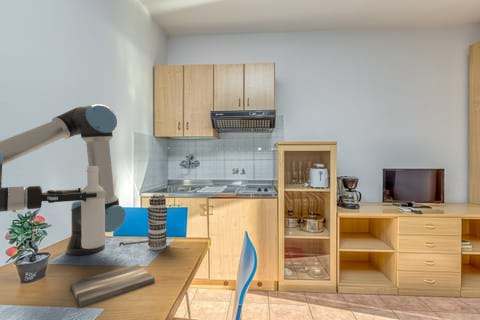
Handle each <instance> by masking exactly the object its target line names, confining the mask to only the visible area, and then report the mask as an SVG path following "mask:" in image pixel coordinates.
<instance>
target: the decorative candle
mask: <svg viewBox="0 0 480 320" xmlns="http://www.w3.org/2000/svg"><path fill="white" fill-rule="evenodd" d="M166 198H167V197H166V196H165V195H164V194H162V193H156V194H155V193H154V194H151V195H150V197H148V199H149V201H148V202H149V203H148V207H147V209H146V210H147V219H148V220H147V223H148V233H147V235H148V236H147V240H148V242H147V245H148V246H147V248H148V249H149V250H152V251H157V250H163V249H165V248H166V247H167V244H168V243H167V236H168V235H167V233H168V232H167V228H166V225H167V224H166V223H167V220H168V219H167V218H168V215H167V214H168V211H167V210H168V208H167V203H166V202H167V200H166Z"/></svg>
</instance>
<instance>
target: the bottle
mask: <svg viewBox="0 0 480 320" xmlns="http://www.w3.org/2000/svg"><path fill="white" fill-rule="evenodd" d="M86 167H87V168H86V173H87V174H86V175H87V180H86V181H87V185H86V186H85V187H84V188H82V190H83V191H82V192H90V191H104V190H103V188H102V187H101V186H100V185H99V183H98V171H99V169H98V166H89V165H88V166H86ZM81 230H82V239H81V243H82V248H85V249H92V248H97V247H101V246H103V245H104V244H105V245H106V240H107V239H106V232H105V198H99V199H86V202H84V201H82V200H81Z"/></svg>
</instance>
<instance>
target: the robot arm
mask: <svg viewBox="0 0 480 320" xmlns="http://www.w3.org/2000/svg"><path fill="white" fill-rule="evenodd" d="M117 124H118V119H117V116H116V114H115V112H114V110H112V109H111V108H110V107H109V106H107V105H105V104H91V105H86V106H79V107H77V106H76V107H75V108H72V109H71V110H68V111H65V112H63V113H62V114H59V115H57V116H54V117H52V119H51V121H50V122H47V123H43V124H42V125H39V126H37V127H33V128H32V129H29V130H26V131H23V132H21V133H19V134H16V135H12V136H10V137H8V138H5V139H3V140H1V141H0V213H2V212H8V211H9V212H10V211H11V212H12V213H16V212H17V211H23V210H25V208H26V209H27V210H34V209H35V210H36V209H37V210H38V209H39V210H40V209H41V208H42V205H43V203H42V202H47V203H48V204H54V203H61V202H63V203H64V202H72V203H71V208H70V211H71V235H70V238H69V241H68V243H67V246H66V254H68V255H70V256H83V255H90V254H95V253H97V252H100V251H103V250H104V249H105V248H106V243H105V244H104V245H103V246H101V247H97V248H92V249H85V248H82V243H81V239H82V230H81V200H82V201H84V202H86V199H99V198H105V233H112V232H115V231H117V230H119V229H120V228H121V227H122V225H123V224H124V222H125V221H126V220H125V219H126V210H125V209H124V208H123V207H122V205H120V201H119V197H118V196H116V195H115V188H114V178H113V167H112V166H113V165H112V157H111V148H110V146H111V145H110V140H111V139H112V138H113V131H114V130H115V128H117ZM74 136H80V137H81V139H82V141H84V142H85V143H86V144H85V145H86V154H87V162H88V163H87V164H88V166H98V169H99V171H98V183H99V185H100V186H101V187H102V188H103V190H104V191H90V192H82V191H83V189H82V187H77V188H76V189H68V190H67V189H64V190H63V189H62V190H60V189H59V190H58V189H57V190H52V189H50V190H47V191H46V192H43V190H42V189H43V188H42V186H41V185H34V186H33V185H32V186H31V185H30V186H27V187H25V186H8V187H2V185H3V183H2V179H3V178H2V177H3V165H6V164H7V163H10V162H12V161H14V160H16V159H19V158H21V157H23V156H26V155H28V154H30V153H32V152H35V151H37V150H38V149H41V148H43V147H45V146H48V145H50V144H51V143H55V142H56V141H59V140H61V139H69V138H71V137H74Z"/></svg>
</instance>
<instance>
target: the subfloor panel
mask: <svg viewBox="0 0 480 320" xmlns="http://www.w3.org/2000/svg"><path fill="white" fill-rule="evenodd" d="M152 283H155V276H153V275H152V274H151V273H149V272H148V271H147V270H146V269H145V268H144V267H143V266H141V265H140V264H138V263H136V264H132V265H129V266H126V267H122V268H118V269H115V270H111V271H108V272H104V273H100V274H96V275H93V276H89V277H85V278H82V279H78V280H75V281H70V286H69V287H70V289H71V291H72V293H73V295H74V296H75V299H76V300H77V303H78V305H79V307H80V308H81V307H84V306H87V305H89V304H93V303H96V302H99V301H102V300H104V299H108V298H111V297H114V296H117V295H119V294H123V293H126V292H129V291H131V290H134V289H138V288H140V287H143V286H147V285H149V284H150V285H151V284H152Z"/></svg>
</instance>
